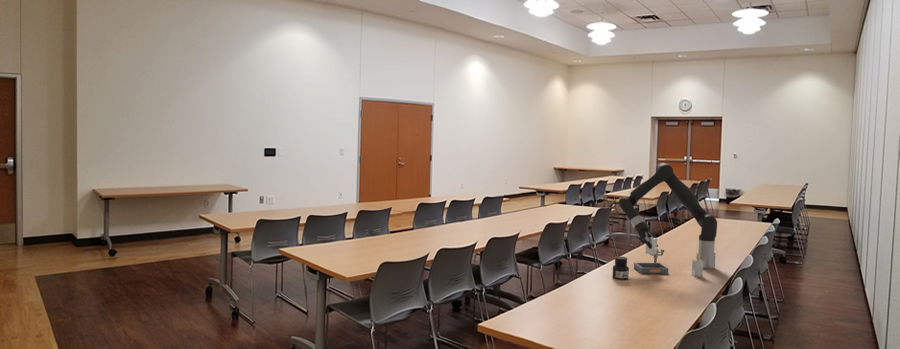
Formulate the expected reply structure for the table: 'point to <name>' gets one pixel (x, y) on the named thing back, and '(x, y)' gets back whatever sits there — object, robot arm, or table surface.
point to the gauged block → (697, 266)
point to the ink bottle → (620, 268)
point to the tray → (651, 268)
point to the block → (654, 246)
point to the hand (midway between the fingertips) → (654, 247)
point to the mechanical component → (657, 255)
